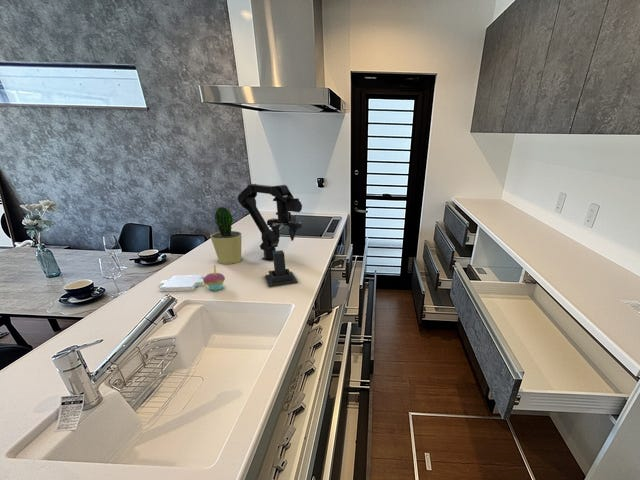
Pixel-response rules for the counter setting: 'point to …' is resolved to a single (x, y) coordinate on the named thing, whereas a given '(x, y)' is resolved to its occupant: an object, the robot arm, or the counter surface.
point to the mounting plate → (182, 283)
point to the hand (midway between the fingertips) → (285, 239)
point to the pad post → (279, 263)
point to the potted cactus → (226, 238)
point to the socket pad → (280, 279)
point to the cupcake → (214, 280)
